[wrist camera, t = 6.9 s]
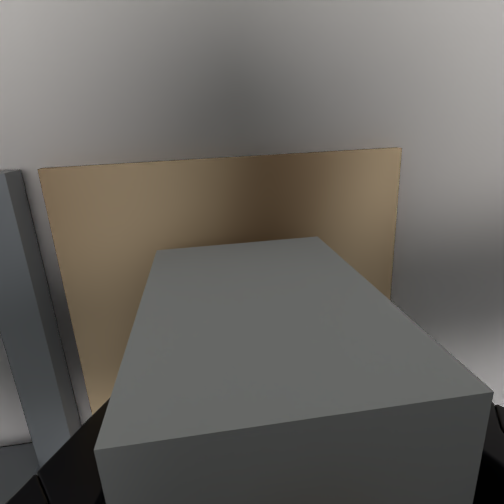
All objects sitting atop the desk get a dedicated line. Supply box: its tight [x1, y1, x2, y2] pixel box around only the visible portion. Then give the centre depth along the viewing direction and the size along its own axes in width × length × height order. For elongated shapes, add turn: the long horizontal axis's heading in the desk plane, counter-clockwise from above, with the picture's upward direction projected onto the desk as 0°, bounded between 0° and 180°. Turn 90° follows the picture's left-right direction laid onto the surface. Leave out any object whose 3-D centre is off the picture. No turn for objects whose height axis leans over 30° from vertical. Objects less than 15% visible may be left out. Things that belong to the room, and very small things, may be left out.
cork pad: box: [38, 147, 402, 415], centre depth 11 cm, size 9×9×1 cm
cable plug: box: [94, 236, 494, 504], centre depth 7 cm, size 4×5×7 cm
